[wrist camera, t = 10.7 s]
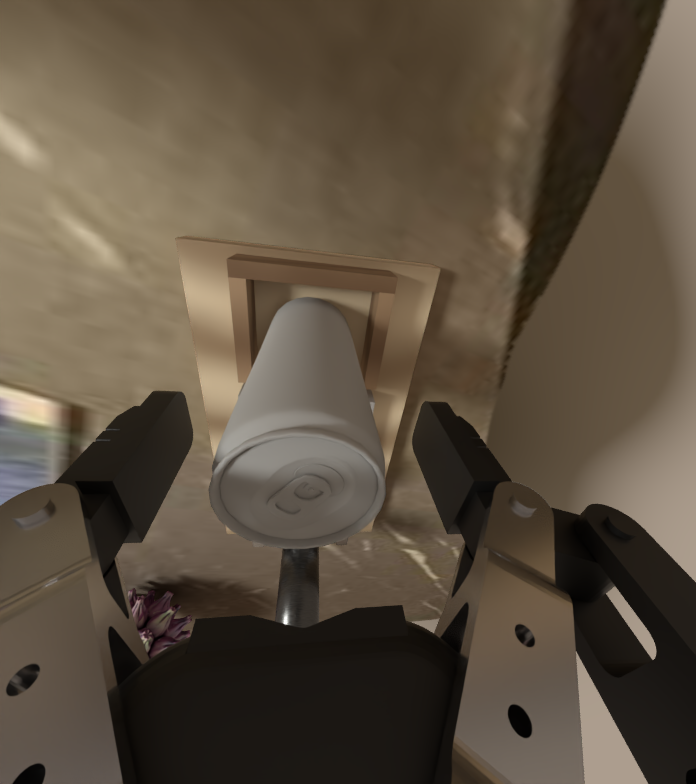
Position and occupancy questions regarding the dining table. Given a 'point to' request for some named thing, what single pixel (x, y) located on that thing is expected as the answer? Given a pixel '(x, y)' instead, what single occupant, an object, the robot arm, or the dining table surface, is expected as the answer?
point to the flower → (157, 621)
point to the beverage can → (301, 437)
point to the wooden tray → (297, 280)
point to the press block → (298, 588)
